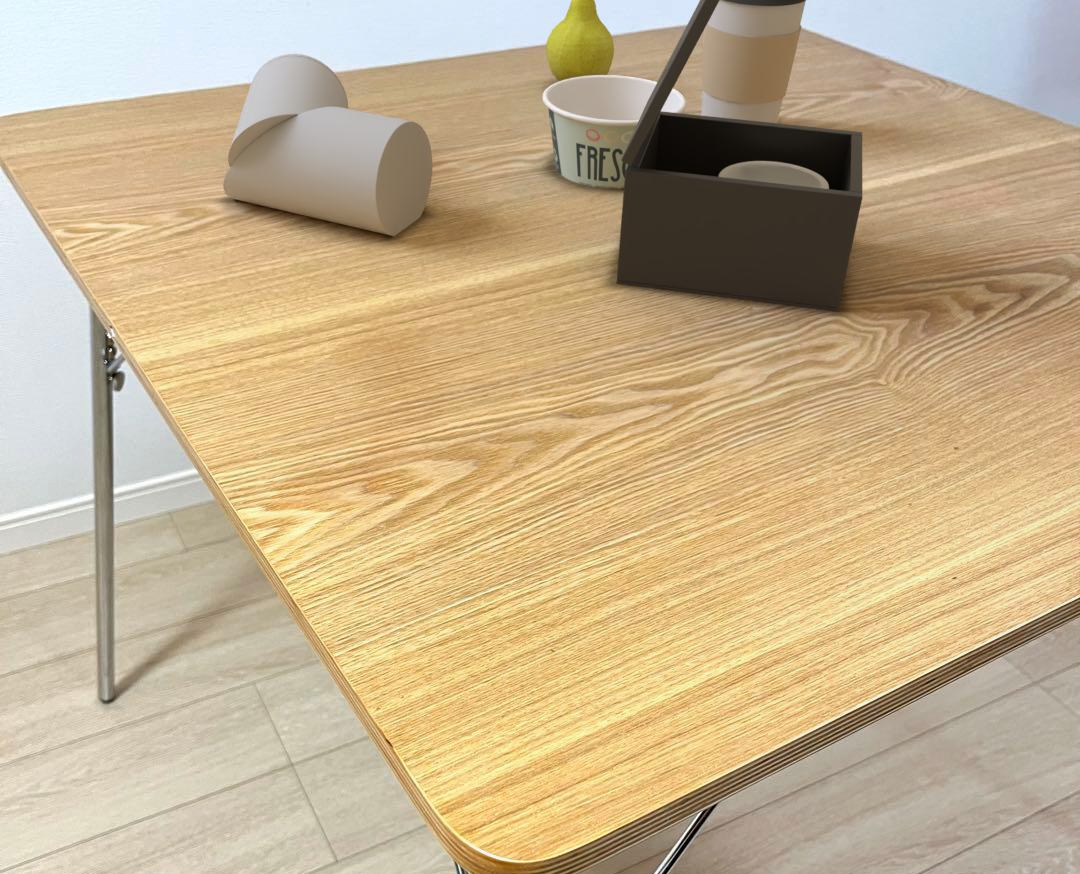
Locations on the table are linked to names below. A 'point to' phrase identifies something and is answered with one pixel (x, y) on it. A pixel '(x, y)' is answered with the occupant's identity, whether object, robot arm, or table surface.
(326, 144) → the elbow connector
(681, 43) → the lid
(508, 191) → the table surface
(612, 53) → the fruit
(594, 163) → the food container
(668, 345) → the table surface
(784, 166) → the white short cylinder
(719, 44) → the coffee cup
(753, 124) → the open brown storage bin
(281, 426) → the table surface
